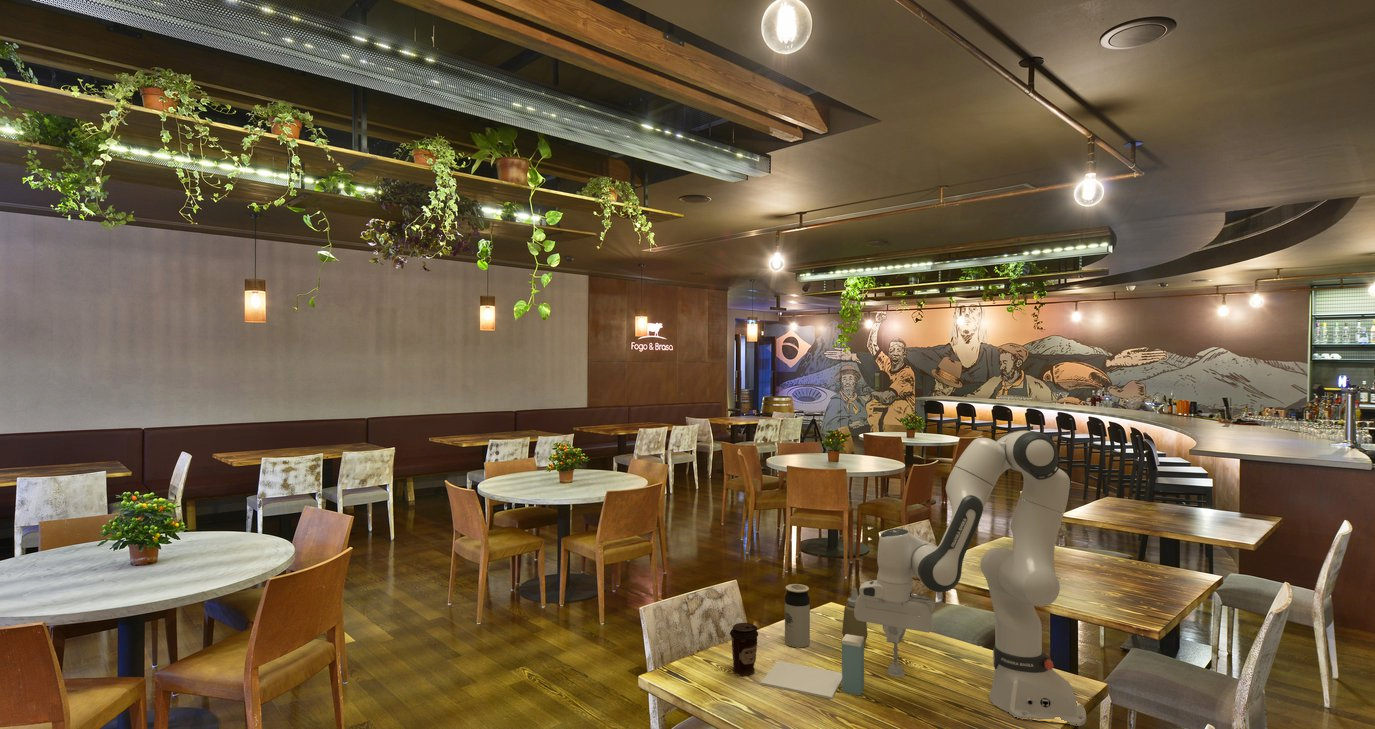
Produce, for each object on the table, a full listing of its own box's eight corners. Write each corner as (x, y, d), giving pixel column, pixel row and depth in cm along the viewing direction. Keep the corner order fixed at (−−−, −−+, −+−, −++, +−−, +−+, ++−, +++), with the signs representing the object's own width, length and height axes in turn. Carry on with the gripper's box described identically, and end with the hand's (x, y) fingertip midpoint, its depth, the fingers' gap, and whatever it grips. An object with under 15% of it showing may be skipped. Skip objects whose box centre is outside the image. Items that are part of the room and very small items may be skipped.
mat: (844, 675, 195) (844, 673, 195) (831, 699, 180) (831, 697, 181) (778, 662, 204) (778, 660, 204) (760, 684, 189) (760, 682, 189)
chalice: (909, 679, 192) (909, 615, 193) (884, 677, 194) (884, 614, 194) (906, 668, 200) (906, 607, 200) (882, 666, 201) (882, 605, 201)
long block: (864, 687, 187) (864, 636, 188) (860, 695, 183) (860, 643, 183) (846, 684, 189) (845, 633, 190) (842, 691, 185) (841, 640, 185)
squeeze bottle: (870, 649, 213) (870, 592, 214) (845, 649, 214) (844, 592, 214) (864, 639, 221) (864, 584, 222) (839, 639, 222) (839, 584, 222)
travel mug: (804, 637, 223) (804, 582, 224) (813, 647, 215) (813, 590, 216) (781, 639, 221) (781, 584, 222) (790, 649, 214) (790, 591, 214)
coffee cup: (765, 671, 198) (765, 626, 198) (747, 680, 191) (747, 634, 192) (741, 662, 203) (741, 619, 204) (723, 671, 197) (724, 626, 198)
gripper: (935, 593, 180) (934, 645, 180) (858, 581, 189) (857, 631, 189) (933, 600, 175) (932, 654, 174) (853, 587, 183) (852, 639, 183)
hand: (892, 642), depth 182 cm, fingers closed
